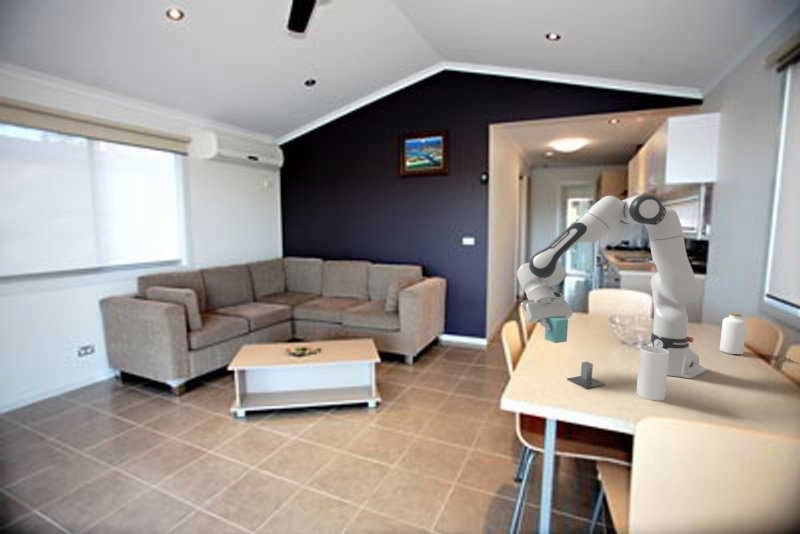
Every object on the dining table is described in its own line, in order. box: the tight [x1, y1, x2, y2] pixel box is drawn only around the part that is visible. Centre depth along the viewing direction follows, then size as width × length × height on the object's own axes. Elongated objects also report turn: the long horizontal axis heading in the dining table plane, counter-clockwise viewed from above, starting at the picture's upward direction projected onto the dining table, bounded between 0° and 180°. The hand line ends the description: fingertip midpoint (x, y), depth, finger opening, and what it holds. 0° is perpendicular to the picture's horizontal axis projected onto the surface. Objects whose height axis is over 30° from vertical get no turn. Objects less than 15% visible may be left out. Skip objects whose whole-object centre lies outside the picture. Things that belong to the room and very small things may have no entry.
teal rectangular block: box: [544, 317, 569, 344], centre depth 155 cm, size 6×6×9 cm
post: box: [566, 361, 606, 390], centre depth 148 cm, size 9×9×7 cm
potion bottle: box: [719, 312, 748, 355], centre depth 182 cm, size 8×8×18 cm
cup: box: [636, 345, 669, 402], centre depth 137 cm, size 8×8×16 cm
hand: (557, 329), depth 155 cm, fingers closed on teal rectangular block, 6 cm apart
